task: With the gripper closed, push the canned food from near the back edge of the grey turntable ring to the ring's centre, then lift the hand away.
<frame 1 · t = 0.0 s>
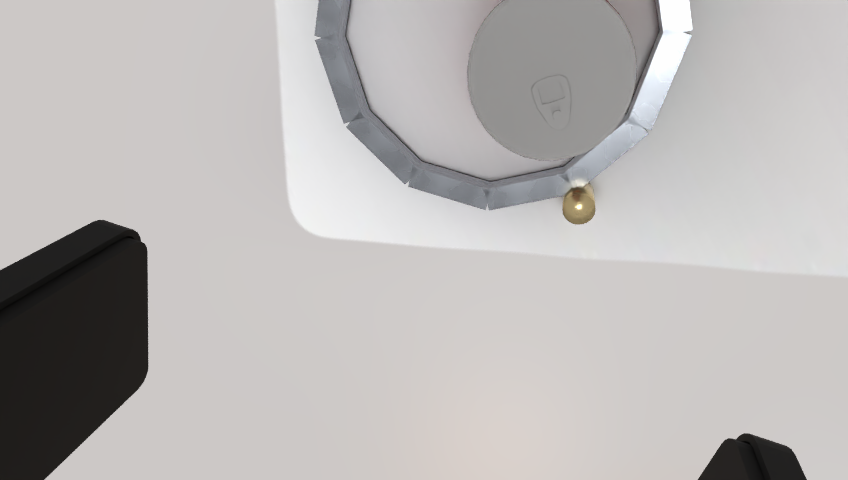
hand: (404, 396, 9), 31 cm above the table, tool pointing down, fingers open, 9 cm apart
canned food: (554, 48, 36), resting in turntable ring
turntable ring: (489, 35, 34), point 2 cm above the table, hinge at 0.0°
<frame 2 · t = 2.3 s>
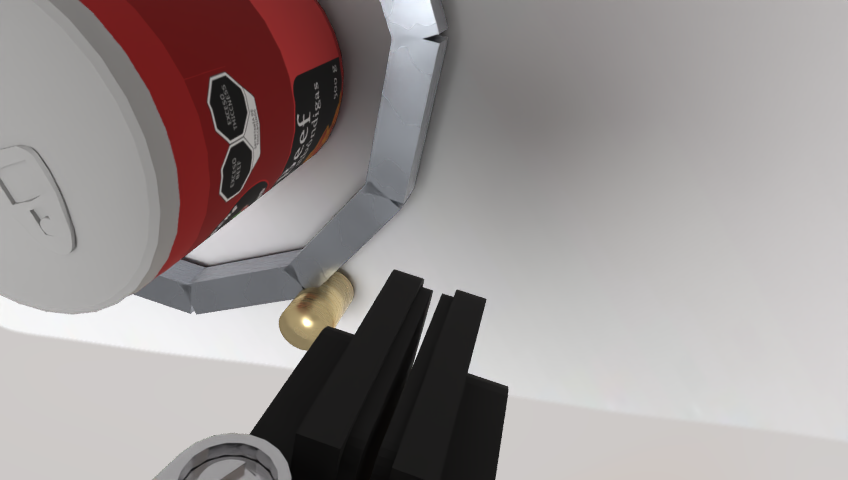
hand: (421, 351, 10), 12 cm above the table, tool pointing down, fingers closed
canned food: (256, 63, 21), resting in turntable ring
turntable ring: (123, 42, 20), point 2 cm above the table, hinge at 0.0°
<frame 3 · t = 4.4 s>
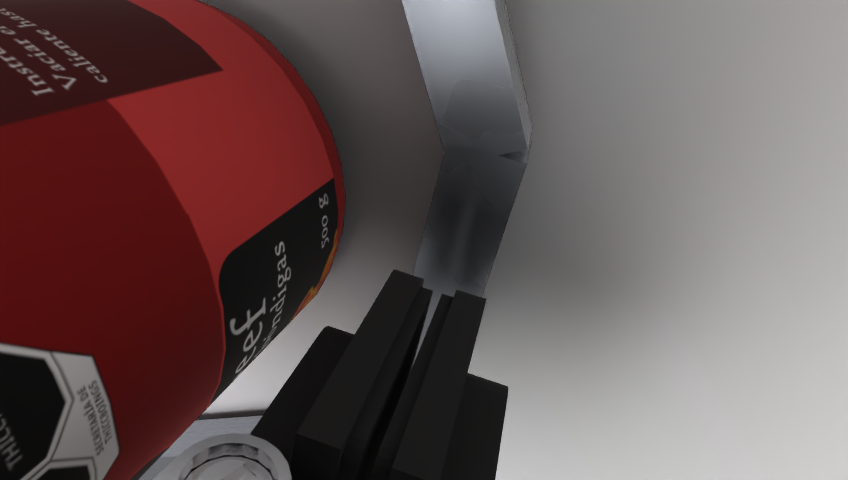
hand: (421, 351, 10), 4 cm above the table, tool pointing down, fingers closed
canned food: (216, 164, 14), resting in turntable ring, touching gripper
turntable ring: (13, 135, 13), point 2 cm above the table, hinge at 0.0°
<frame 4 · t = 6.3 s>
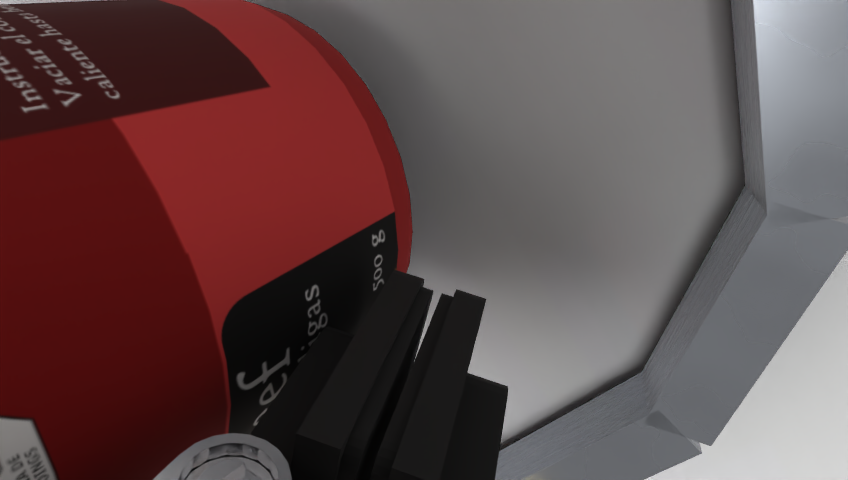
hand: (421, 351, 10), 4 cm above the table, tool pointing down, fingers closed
canned food: (290, 182, 13), point 1 cm above the table, touching gripper
turntable ring: (263, 184, 12), point 2 cm above the table, hinge at 0.0°
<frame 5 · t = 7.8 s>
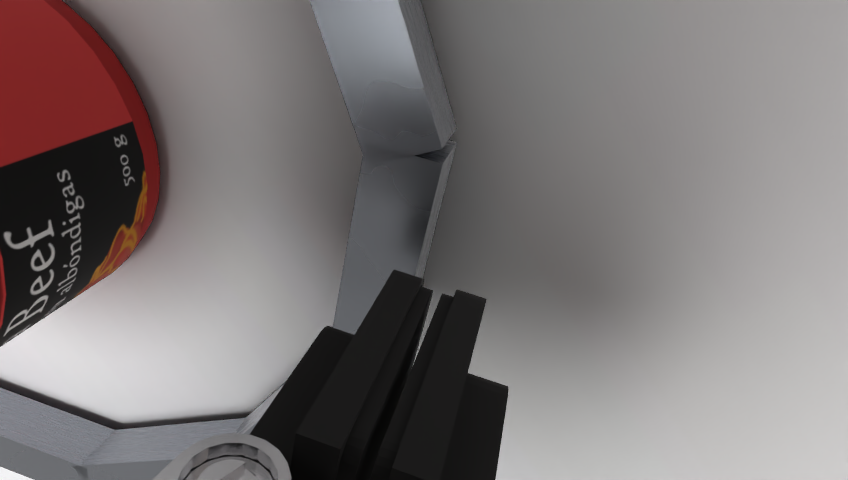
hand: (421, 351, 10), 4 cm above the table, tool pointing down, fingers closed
canned food: (41, 129, 15), resting in turntable ring
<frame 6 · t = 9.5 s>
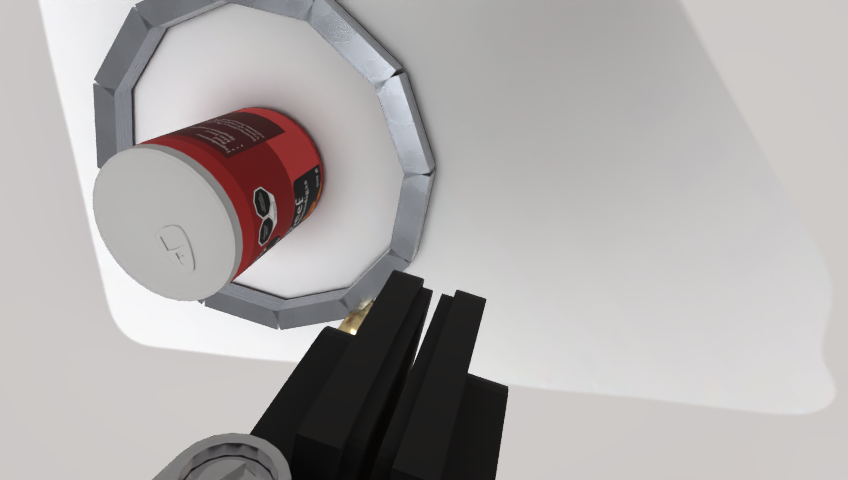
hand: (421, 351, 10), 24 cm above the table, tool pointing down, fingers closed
canned food: (273, 165, 37), resting in turntable ring
turntable ring: (251, 172, 35), point 2 cm above the table, hinge at 0.0°
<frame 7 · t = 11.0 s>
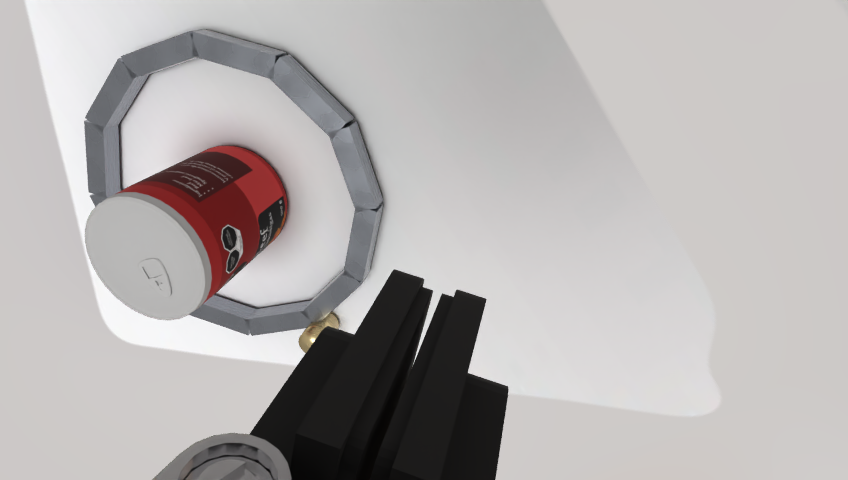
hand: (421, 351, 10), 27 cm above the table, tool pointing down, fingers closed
canned food: (244, 194, 42), resting in turntable ring
turntable ring: (223, 201, 40), point 2 cm above the table, hinge at 0.0°
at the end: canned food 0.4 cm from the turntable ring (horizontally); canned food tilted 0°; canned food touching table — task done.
